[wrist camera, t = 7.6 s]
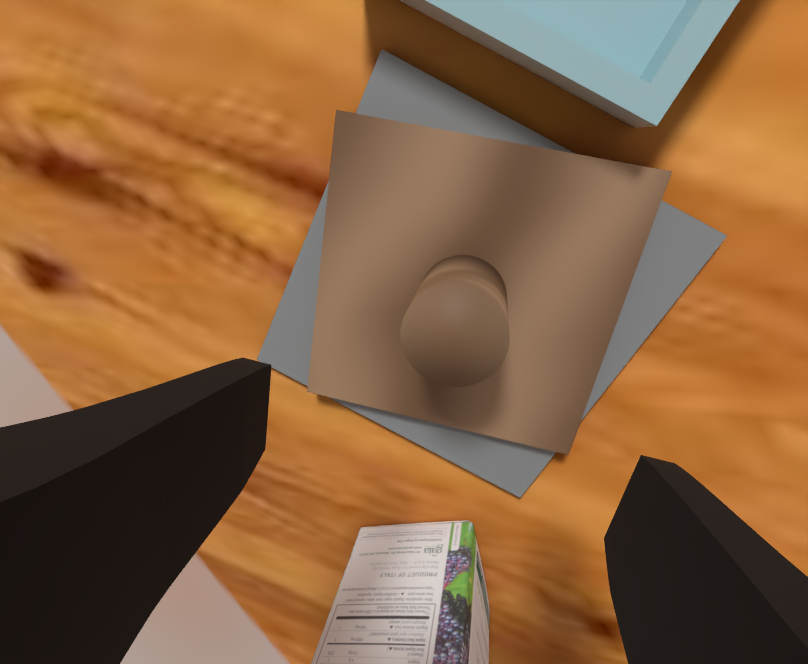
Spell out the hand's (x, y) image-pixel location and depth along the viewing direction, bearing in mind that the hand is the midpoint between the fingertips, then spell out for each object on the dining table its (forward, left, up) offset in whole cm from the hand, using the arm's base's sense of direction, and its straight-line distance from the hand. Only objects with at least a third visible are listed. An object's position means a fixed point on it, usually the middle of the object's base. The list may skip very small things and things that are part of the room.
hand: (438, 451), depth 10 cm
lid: (0, 0, -10) cm, 10 cm away
